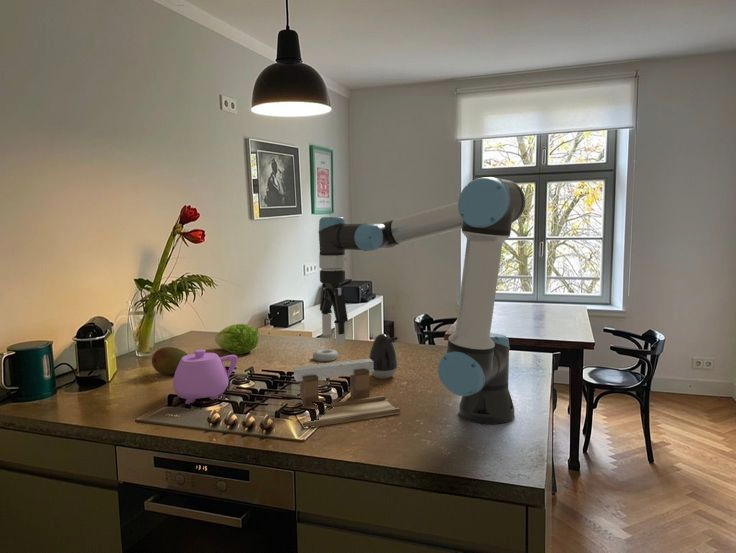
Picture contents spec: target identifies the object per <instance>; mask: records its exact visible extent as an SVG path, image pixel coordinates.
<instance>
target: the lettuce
mask: <svg viewBox="0 0 736 553" xmlns="http://www.w3.org/2000/svg"><path fill="white" fill-rule="evenodd" d="M214 342H215V344H217V345H218V347H219V348H220V349H222V350H225V351H228V352H229V353H231V354H232V355H243V354H246V353H249V352H251V351H252V350H254V349H255V348H257V345H258V343H259V333H258V330H257V329H256V328H254V327H253V326H250V325H248V324H246V323H245V324H244V323H237V324H232V325H229V326H226V327H224V328H223V329H221V330H220V331H218V333H217V334H216V335H215V337H214Z"/></svg>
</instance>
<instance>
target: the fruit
mask: <svg viewBox="0 0 736 553" xmlns="http://www.w3.org/2000/svg"><path fill="white" fill-rule="evenodd" d="M186 355H189V354H188V353H187V352H186V351H184V350H183V349H180V348H177V347H174V346H172V347H171V346H167V347H165V346H164V347H161V348H159V349H156V351H155V352H154V353H153V355H152V358H151V365H152V367H153V369H154V370H155V371H156V372H157V373H160V374H163V375H175V372H176V369H177V367H178V364H179V362H180V360H181V358H182V357H183V356H186Z"/></svg>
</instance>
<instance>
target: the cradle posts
mask: <svg viewBox="0 0 736 553" xmlns="http://www.w3.org/2000/svg"><path fill="white" fill-rule="evenodd" d="M349 383H350V384H349V389H350V390H349V394H350V396H351V397H352V398H353V400H356V399H363V398H370V396H371V395H370V373H369V370H362V371H356V375H349ZM319 391H320V390H319V379H318V376H313V377H305V378H304V381H300V382H299V392H300V393H299V394H300V396H299V397H300V398H301V399H302V402H303V404H304V406H305V407H307V406H314V405H315V404H314V403H312V402H314V401H319V400H320V399H319V398H320V393H319ZM319 402H320V401H319ZM304 406H303V407H304Z"/></svg>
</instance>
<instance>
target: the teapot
mask: <svg viewBox="0 0 736 553" xmlns="http://www.w3.org/2000/svg"><path fill="white" fill-rule="evenodd" d="M238 359H239V358H238V356H237V354H229V355H224V356H221V357H220V356H219V355H218V354H217V353H215V352H206V350H205V349H201V348H200V349H196V350H194V351H193V353H191V354H188V355H186V356H183V357H182V358H181V360H180V362H179V364H178V367H177V369H176V372H175V374H173V381H172V382H173V383H172V388H173V391H174V392H175V394H176V395H177V396H178V397H179V398H181V399H185V402H184V404H185V405H191V404H190V403H192V402H194V401H195V402H196V399H204V398H209V400H210V399H216V398H218V397H219V398H220V396H219V395H222V394H224V392H225V391H226V389H227V388H228V385H229V377H230V376H231V374H232V372H233V371H234V370H235V368H236V366H237V363H238ZM227 360H229V361H230V365H229V368H228V370H227V368H226V366H225V364H224V361H227Z"/></svg>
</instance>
